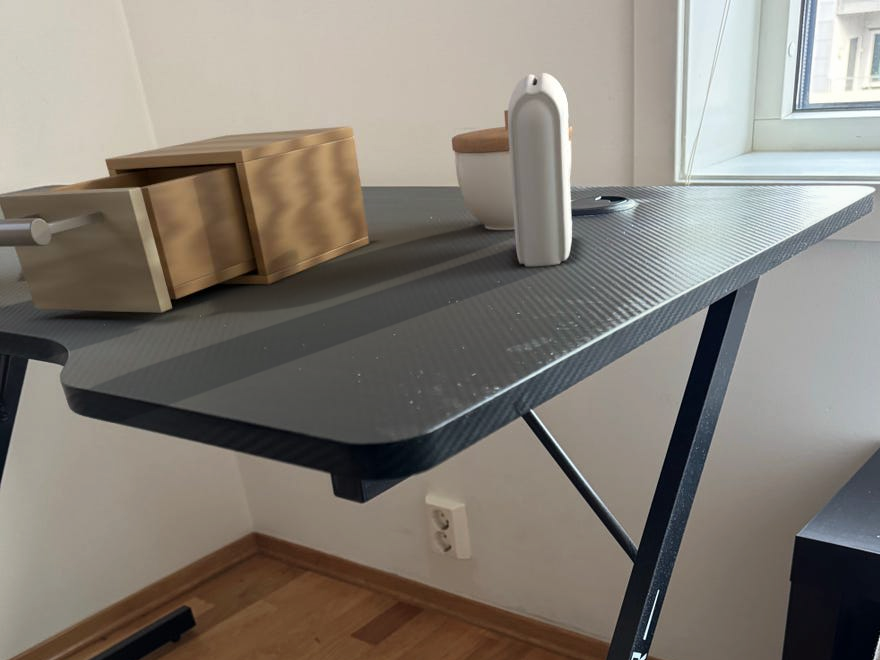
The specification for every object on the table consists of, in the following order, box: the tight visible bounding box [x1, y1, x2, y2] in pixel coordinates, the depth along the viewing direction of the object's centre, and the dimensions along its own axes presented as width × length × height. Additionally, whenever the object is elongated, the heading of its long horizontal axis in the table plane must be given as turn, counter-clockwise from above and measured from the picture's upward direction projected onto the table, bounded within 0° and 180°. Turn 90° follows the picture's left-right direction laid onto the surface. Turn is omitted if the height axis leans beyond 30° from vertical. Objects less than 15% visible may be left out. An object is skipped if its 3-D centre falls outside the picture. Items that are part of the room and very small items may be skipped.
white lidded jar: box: [451, 109, 573, 231], centre depth 84 cm, size 11×11×9 cm
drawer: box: [0, 163, 257, 314], centre depth 68 cm, size 21×12×8 cm, turn 155°
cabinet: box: [104, 125, 370, 285], centre depth 79 cm, size 16×14×10 cm
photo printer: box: [507, 72, 573, 268], centre depth 70 cm, size 10×4×12 cm, turn 174°
